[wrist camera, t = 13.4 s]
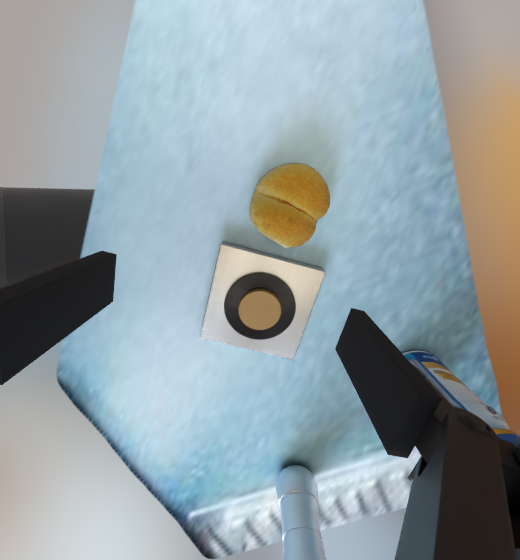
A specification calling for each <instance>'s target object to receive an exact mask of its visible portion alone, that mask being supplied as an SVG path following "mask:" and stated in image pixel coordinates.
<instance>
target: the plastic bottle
mask: <svg viewBox="0 0 520 560" xmlns="http://www.w3.org/2000/svg"><path fill="white" fill-rule="evenodd" d="M276 492H277V499H278V503H279V507H280V515H281V523H282V532H283V560H326V557H325V552H324V547H323V542H322V538H321V532H320V524H319V514H318V489H317V485H316V482H315V479H314V476H313V475H312V473H311V472H310V471H309V470H308V469H307V468H305V467H303V466H299V465H291V466H288V467H285V468H284V469H283V470H282V471H281V472H280V474H279V476H278V478H277V485H276Z"/></svg>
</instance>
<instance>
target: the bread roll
mask: <svg viewBox="0 0 520 560" xmlns="http://www.w3.org/2000/svg"><path fill="white" fill-rule="evenodd" d="M329 205H330V195H329V190H328V187H327V184H326V182H325V181H324V179H323V178H322V176H321V175H320V174H319V173H318V172H317V171H316V170H315V169H313V168H311V167H310V166H308V165H305V164H300V163H290V164H284V165H281V166H279V167H277V168H274V169H272V170H271V171H270V172H268V173H267V174H266V175H265V176H264V177H263V178H262V179H261V180H260V181H259V183H258V184H257V186H256V189H255V192H254V194H253V196H252V199H251V203H250V220H251V222H252V224H253V225H254V227H255V228H256V230H257V231H258V232H260V233H261V234H263V235H264V236H266V237H267V238H269V239H271V240H272V241H274V242H276V243H278V244H279V245H280V246H282V247H284V248H286V249H287V248H289V247H296V246H300V245H302V244H304V243H305V242H306V241H308V240H309V239H310V238H311V236H312V235H313V233H314V231H315V229H316V222H317V220H318V219H319V218H321V217H323V216H324V215H325V214H326V212H327V210H328V208H329Z"/></svg>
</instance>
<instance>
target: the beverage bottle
mask: <svg viewBox="0 0 520 560" xmlns="http://www.w3.org/2000/svg"><path fill="white" fill-rule="evenodd" d="M403 355H404V356H405V357H406V359H407V360H408V361H409V362H410V363H412V364H413V365H414V366H416V367H417V368H418V369H419V370H420V371H421V372H422V373H423V374H424V375H425V376H426V377H427V379H429V381H430V382H431V383H432V384H433V386H435V387H436V388H437V389H438V390H439V391H440V393H441V394H442V395H443V396H444V397H445V398H446V399H447V400H448V401H449V402H450V403H451V405H452V406H453V407H458V408H462V409H465V410H467V411H469V412H471V413H473V414H475V415H476V416H478V417H479V418H481V419H482V420H483V421H485V422H486V423H487V424H488V425H489V426H490V427H491V428H492V429H493V430H494V431H495V433H496V435H497V437H498V438H501V439H503V440H506V441H508V442H510V443H513V444H515V443H516V441H517V440H518V439H519V437H520V436H519V435H518V434H516V433H515V432H513V431H510V430H509V427H508V425H507V424H506V422H505V421H504V419H503V418H502V417H501V416H500V415H499V414H498V413H497V412H496V411H495V410H493V409H492V408H491V407H489V406H487V405H486V404H485V403H484V402H483V401H482V400H481V399H480V398H478V397H477V396H476V395H475V394H474V393H473V392H472V391H471V390H470V389H469V388H468V387H467V386H466V385H465V384H463V383H462V382H461V381H460V380H459V379H458V378H457V377H456V376H455V375H454V374H453V373H452V372H451V371H450V370H449V369H448V368H447V367H445V366H444V365H443V363H442V362H441V361H440V360H439V359H438V358H436V357H435V356H434V355H432V354H430V353H428V352H425V351H409V352H405V353H403Z"/></svg>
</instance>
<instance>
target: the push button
mask: <svg viewBox="0 0 520 560" xmlns="http://www.w3.org/2000/svg"><path fill="white" fill-rule="evenodd" d="M324 275H325V271H324V269H322V268H319V267H315V266H311V265H307V264H304V263H300V262H296V261H292V260H289V259H285V258H281V257H278V256H274V255H270V254H266V253H263V252H259V251H255V250H251V249H248V248H244V247H240V246H236V245H233V244H229V243H225V242H222V244H221V246H220V250H219V255H218V259H217V264H216V268H215V273H214V277H213V282H212V286H211V290H210V295H209V299H208V304H207V308H206V313H205V317H204V322H203V326H202V331H201V335H200V338H204V339H208V340H212V341H216V342H220V343H225V344H229V345H233V346H237V347H241V348H246V349H250V350H254V351H258V352H262V353H267V354H271V355H275V356H279V357H283V358H288V359H292V360H293V359H294V357H295V354H296V351H297V349H298V346H299V343H300V340H301V338H302V335H303V332H304V330H305V327H306V324H307V321H308V319H309V316H310V313H311V310H312V308H313V305H314V302H315V300H316V297H317V294H318V291H319V289H320V286H321V283H322V280H323V278H324Z"/></svg>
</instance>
